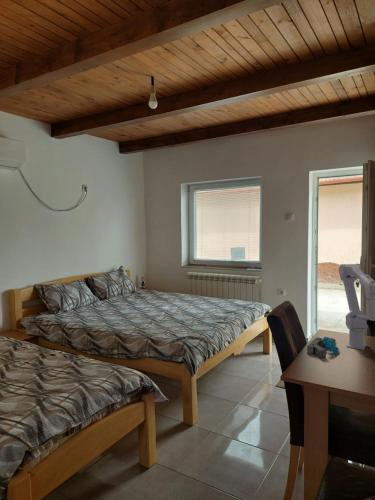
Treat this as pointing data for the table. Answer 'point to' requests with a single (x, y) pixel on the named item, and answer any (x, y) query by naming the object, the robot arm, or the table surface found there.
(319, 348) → the v block
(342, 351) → the table surface
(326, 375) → the table surface
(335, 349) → the teal lobed flat part
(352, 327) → the robot arm
